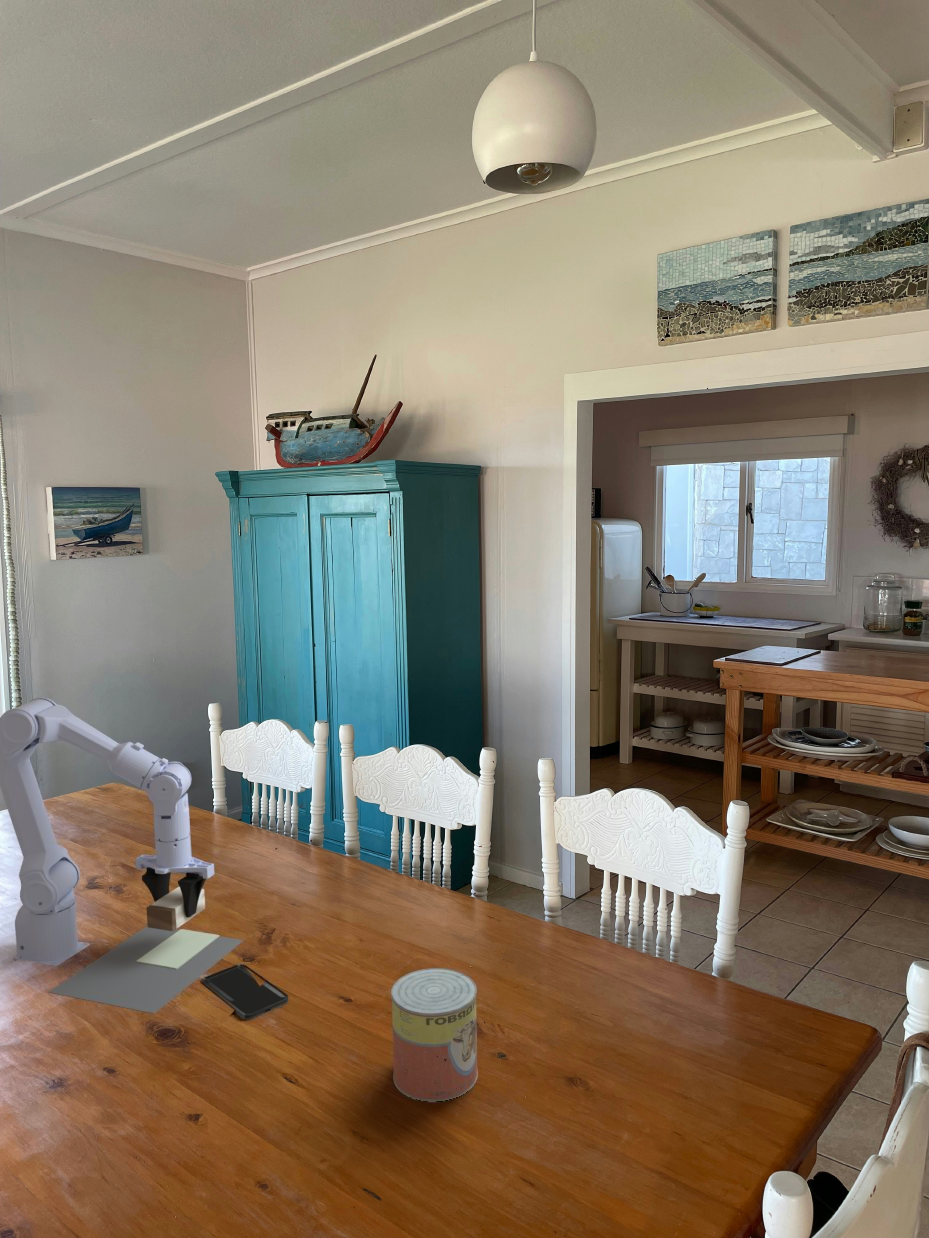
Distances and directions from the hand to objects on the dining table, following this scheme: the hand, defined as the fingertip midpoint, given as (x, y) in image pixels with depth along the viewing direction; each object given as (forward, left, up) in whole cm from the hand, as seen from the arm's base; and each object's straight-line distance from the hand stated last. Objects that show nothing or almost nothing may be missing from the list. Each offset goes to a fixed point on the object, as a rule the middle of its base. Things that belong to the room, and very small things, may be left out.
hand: (177, 912), depth 152 cm
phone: (+18, -8, -8) cm, 21 cm away
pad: (0, 0, -6) cm, 6 cm away
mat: (-1, -6, -7) cm, 9 cm away
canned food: (+54, -18, -7) cm, 57 cm away
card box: (0, 0, -1) cm, 1 cm away
